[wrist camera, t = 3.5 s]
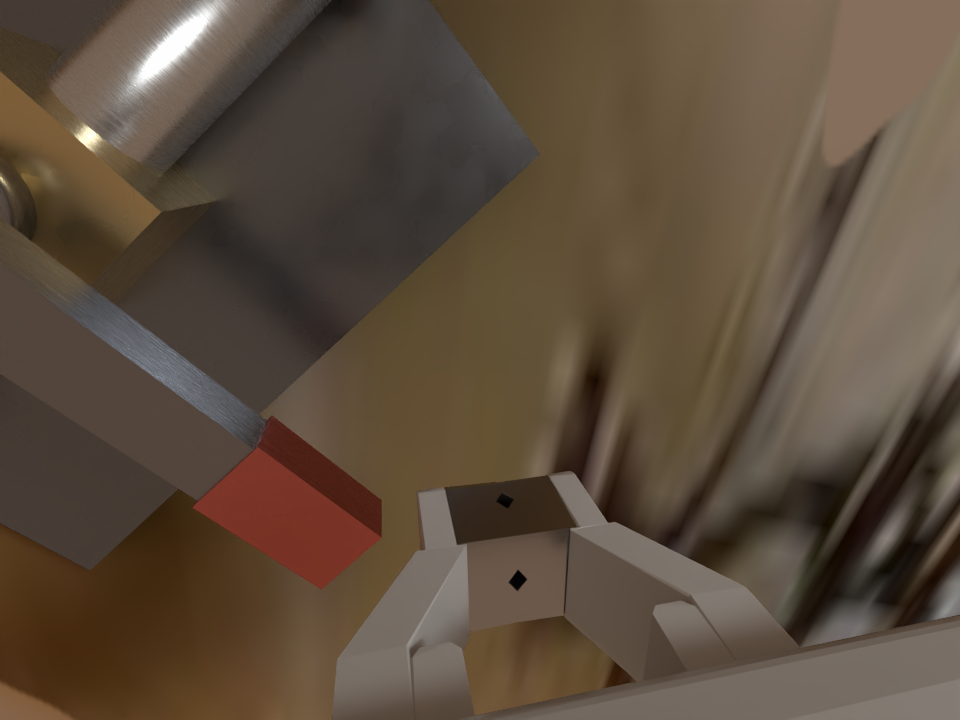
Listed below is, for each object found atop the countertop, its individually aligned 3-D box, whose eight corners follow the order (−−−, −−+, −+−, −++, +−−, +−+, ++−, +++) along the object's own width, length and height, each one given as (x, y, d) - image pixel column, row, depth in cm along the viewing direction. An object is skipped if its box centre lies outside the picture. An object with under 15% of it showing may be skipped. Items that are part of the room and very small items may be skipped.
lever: (-150, 195, 13) (-317, 205, 10) (-67, 100, 13) (-214, 79, 10) (323, 527, 20) (312, 596, 17) (388, 470, 20) (390, 529, 16)
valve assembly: (84, -455, 15) (-156, -959, 8) (530, 154, 23) (589, 150, 17) (-461, 237, 18) (-948, 277, 11) (105, 549, 26) (13, 676, 20)
